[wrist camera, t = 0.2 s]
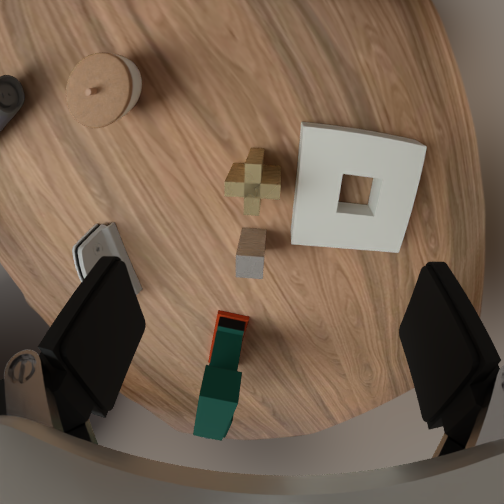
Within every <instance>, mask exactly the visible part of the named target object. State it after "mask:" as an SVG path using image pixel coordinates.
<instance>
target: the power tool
mask: <svg viewBox="0 0 504 504" xmlns="http://www.w3.org/2000/svg"><path fill="white" fill-rule="evenodd" d="M248 321H249V317H248V316H243V315H239V314H234V313H229V312H225V311H220V310H218V314H217V319H216V324H215V329H214V335H213V340H212V345H211V350H210V356H209V361H208V362H209V363H210V364H209V365H206V367H205V372H204V376H203V381H202V386H201V390H200V395H199V401H198V407H197V413H196V420H195V426H194V433H193V435H196V436H200V437H204V438H208V439H210V438H211V439H215V440H222V439H223V437H224V438H225V436H226V434H227V432H228V430H229V428H230V426H231V423H232V421H233V414H234V412H235V409H236V407H237V405H238V400H239V392H240V384H241V376H242V372H238V371H237V369H238V363H239V357H240V351H241V345H242V341H243V337H244V334H245V331H246V328H247V325H248Z"/></svg>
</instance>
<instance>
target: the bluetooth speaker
mask: <svg viewBox="0 0 504 504" xmlns="http://www.w3.org/2000/svg"><path fill="white" fill-rule="evenodd" d="M24 99H25V95H24V91H23V88H22V86H21V83H20V82H19V81H18V80H17V79H16V78H15V77H13V76H10V75H3V76H1V77H0V132H1V131H2V129H3V128H4V127H5V126H6V125H7V123H8V122H9V121H10V120H11V119H12V118H13V117H14V116H15V114H16V113H17V112H18V111H19V109H20V108H21V107H22V105H23V103H24Z"/></svg>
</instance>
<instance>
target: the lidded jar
mask: <svg viewBox="0 0 504 504" xmlns="http://www.w3.org/2000/svg"><path fill="white" fill-rule="evenodd" d="M141 90H142V78H141V74H140V72H139V70H138V68H137V66H136V65H135V64H134V63H133V62H132V61H131V60H129V59H128V58H126V57H124V56H121V55H117V54H110V53H95V54H91V55H89V56H87V57H85V58H84V59H82V60H81V61H80V62H79V63H78V64H77V65H76V66H75V68H74V69H73V71H72V72H71V74H70V76H69V79H68V82H67V86H66V102H67V106H68V109H69V111H70V113H71V115H72V116H73V117H74V118H75V120H76V121H78V122H79V123H80V124H82V125H84V126H86V127H89V128H101V127H104V126H107V125H109V124H111V123H113V122H115V121H117V120H118V119H120V118H122V117H123V116H125V115H126V114H127V113H128V112H129V111H130V110H131V109H132V108H133V107H134V106H135V104H136V103H137V101H138V99H139V96H140V94H141Z"/></svg>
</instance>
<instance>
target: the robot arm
mask: <svg viewBox="0 0 504 504" xmlns="http://www.w3.org/2000/svg"><path fill="white" fill-rule="evenodd" d="M144 330H145V319H144V316H143V314H142V311H141V308H140V305H139V302H138V300H137V297H136V294H135V291H134V288H133V285H132V282H131V279H130V276H129V273H128V270H127V267H126V264H125V262H124V261H121V259H120V258H119V257H118V256H102V257H101V258H100V259H99V260H98V261H97V263H96V264H95V265H94V267H93V268H92V269H91V270H90V272H89V273H88V274H87V276H86V277H85V278H84V280H83V281H82V282H81V284H80V285H79V287H78V288H77V289H76V291H75V292H74V293H73V295H72V296H71V298H70V299H69V300H68V302H67V303H66V305H65V306H64V308H63V309H62V311H61V312H60V313H59V315H58V316H57V318H56V319H55V321H54V322H53V324H52V325H51V327H50V329H49V330H48V332H47V333H46V335H45V336H44V338H43V340H42V341H41V343H40V344H39V346H38V347H39V349H40V350H41V353H40V355H38V354H37V353H36V352H34V351H32V350H24V351H20V352H19V353H17V354H15V355H14V356H13V357H12V358H11V359H10V361H9V362H8V363H7V366H6V368H5V373H4V379H2V380H0V504H504V366H502V367H501V369H500V368H499V366H498V363H499V362H500V361H501V359H500V357H499V355H498V353H497V350H496V349H495V346H494V344H493V342H492V340H491V338H490V337H489V335H488V333H487V331H486V329H485V327H484V325H483V323H482V321H481V320H480V318H479V316H478V314H477V312H476V311H475V309H474V307H473V305H472V304H471V302H470V300H469V299H468V297H467V295H466V294H465V292H464V290H463V289H462V287H461V285H460V284H459V282H458V281H457V279H456V278H455V276H454V274H453V273H452V271H451V270H450V268H449V267H448V265H447V264H446V263H445V262H428V263H427V264H426V266H424V267H422V269H421V271H420V274H419V277H418V280H417V283H416V286H415V289H414V291H413V294H412V297H411V300H410V302H409V305H408V307H407V310H406V313H405V315H404V318H403V320H402V323H401V325H400V329H399V336H400V339H401V343H402V346H403V349H404V352H405V355H406V359H407V362H408V365H409V369H410V372H411V376H412V379H413V383H414V387H415V390H416V394H417V398H418V402H419V406H420V410H421V414H422V418H423V420H424V421H425V422H427V424H428V428H429V429H433V428H438V427H441V426H443V427H444V431H445V433H444V436H443V437H442V439H441V441H440V444H439V445H438V447H437V449H436V451H435V453H434V455H433V457H432V458H431V459H427V460H423V461H418V462H413V463H409V464H404V465H399V466H393V467H388V468H381V469H375V470H368V471H360V472H352V473H340V474H326V475H305V476H303V475H301V476H278V475H277V476H276V475H274V476H273V475H253V474H239V473H228V472H219V471H210V470H204V469H197V468H190V467H184V466H179V465H173V464H168V463H164V462H159V461H154V460H150V459H146V458H142V457H138V456H134V455H130V454H127V453H123V452H120V451H116V450H113V449H110V448H107V447H103V446H101V445H98V443H97V440H96V438H95V435H94V432H93V430H92V427H91V424H90V421H89V417H90V414H91V413H92V414H94V415H98V416H101V417H104V418H105V417H106V415H107V413H108V411H110V410H111V409H112V408H113V407H114V404H115V401H116V399H117V396H118V393H119V391H120V388H121V386H122V383H123V381H124V378H125V376H126V373H127V371H128V368H129V366H130V364H131V361H132V359H133V356H134V354H135V352H136V349H137V347H138V344H139V342H140V340H141V337H142V335H143V333H144Z"/></svg>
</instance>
